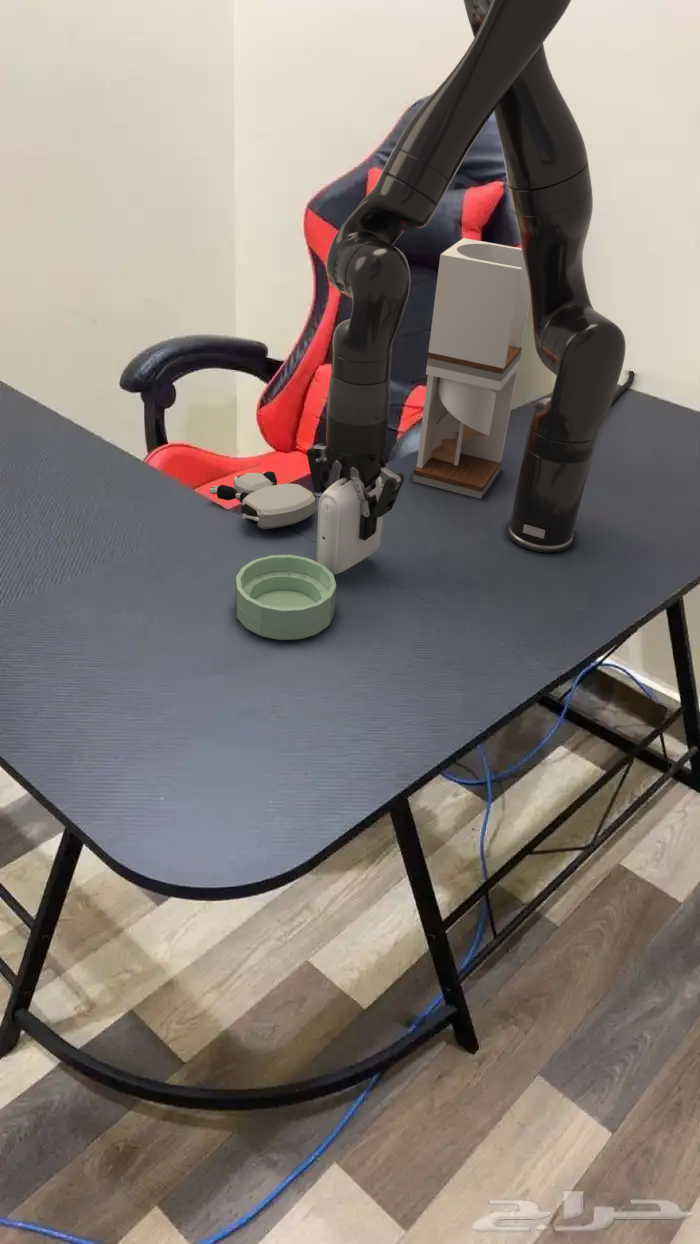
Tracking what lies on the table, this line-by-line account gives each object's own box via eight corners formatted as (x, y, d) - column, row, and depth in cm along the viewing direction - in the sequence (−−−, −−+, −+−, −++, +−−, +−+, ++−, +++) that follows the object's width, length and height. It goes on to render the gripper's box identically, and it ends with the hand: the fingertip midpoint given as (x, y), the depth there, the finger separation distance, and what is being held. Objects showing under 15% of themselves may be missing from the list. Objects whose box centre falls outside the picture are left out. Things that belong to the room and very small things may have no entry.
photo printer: (335, 579, 123) (340, 495, 116) (310, 566, 125) (314, 483, 118) (384, 549, 130) (392, 468, 122) (360, 537, 132) (366, 457, 124)
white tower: (412, 481, 151) (440, 254, 131) (434, 455, 159) (463, 237, 139) (480, 498, 148) (520, 269, 127) (499, 471, 156) (539, 251, 136)
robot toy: (204, 506, 142) (260, 545, 132) (202, 479, 139) (259, 516, 129) (272, 486, 148) (330, 522, 138) (271, 459, 146) (331, 494, 136)
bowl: (278, 576, 127) (279, 544, 124) (352, 611, 121) (355, 579, 118) (215, 616, 118) (215, 583, 115) (292, 656, 113) (293, 622, 110)
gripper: (424, 416, 114) (411, 538, 124) (329, 384, 120) (324, 502, 131) (390, 437, 109) (378, 562, 119) (292, 402, 115) (289, 523, 126)
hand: (350, 530), depth 125 cm, fingers closed on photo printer, 4 cm apart
